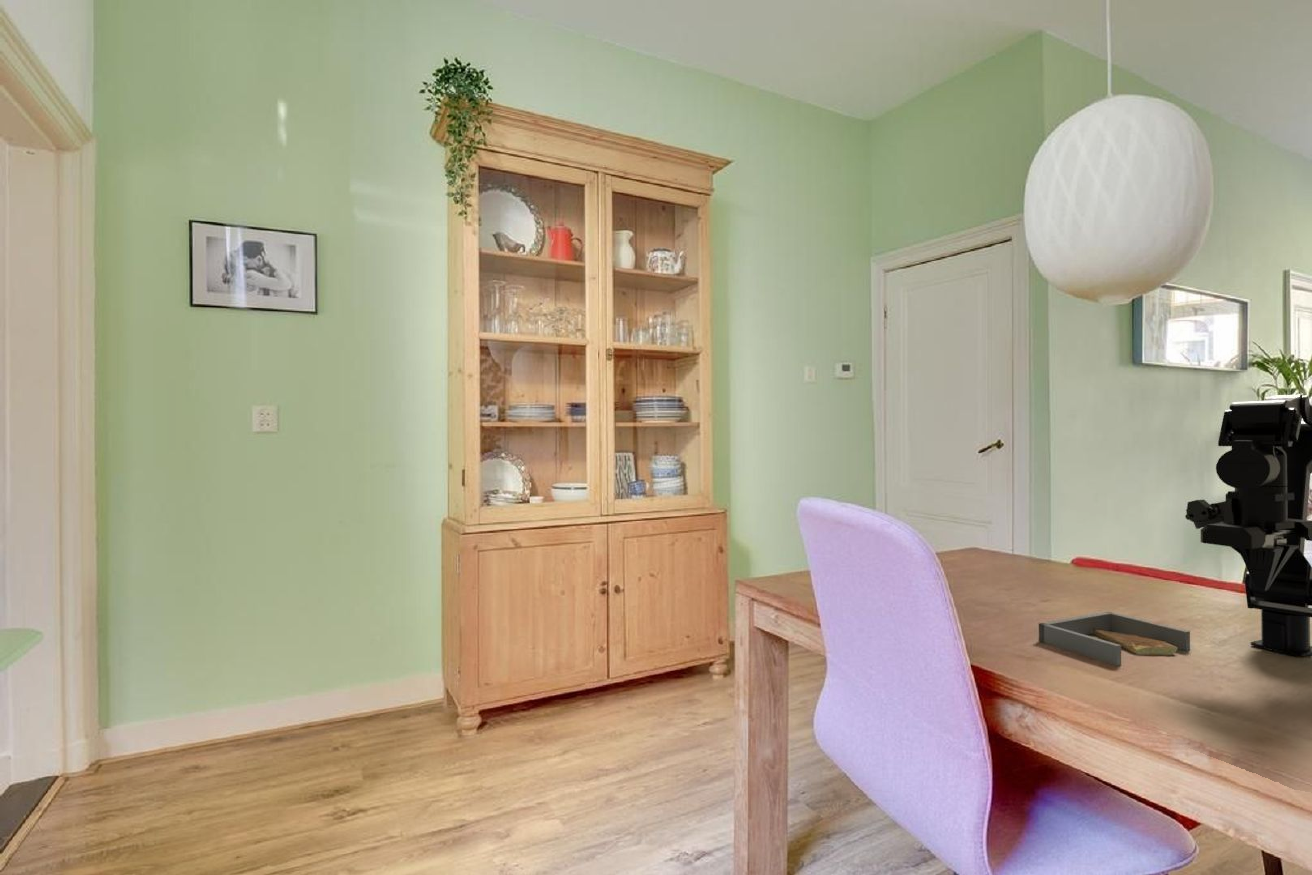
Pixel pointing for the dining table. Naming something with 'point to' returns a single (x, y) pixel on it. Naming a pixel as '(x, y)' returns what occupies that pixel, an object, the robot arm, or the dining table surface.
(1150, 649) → the shard
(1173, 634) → the box
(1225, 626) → the dining table surface
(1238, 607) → the dining table surface
